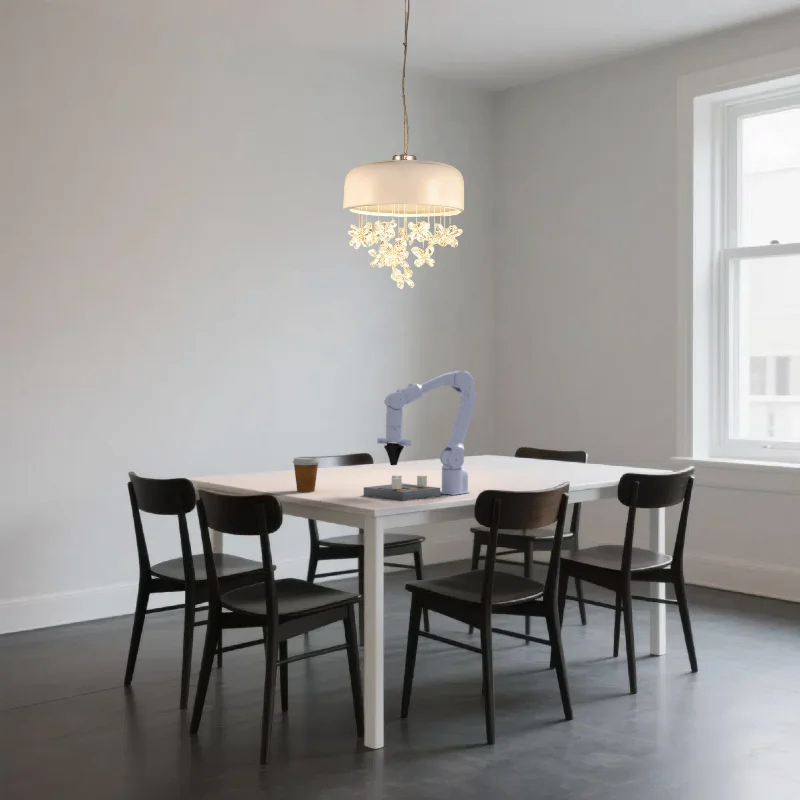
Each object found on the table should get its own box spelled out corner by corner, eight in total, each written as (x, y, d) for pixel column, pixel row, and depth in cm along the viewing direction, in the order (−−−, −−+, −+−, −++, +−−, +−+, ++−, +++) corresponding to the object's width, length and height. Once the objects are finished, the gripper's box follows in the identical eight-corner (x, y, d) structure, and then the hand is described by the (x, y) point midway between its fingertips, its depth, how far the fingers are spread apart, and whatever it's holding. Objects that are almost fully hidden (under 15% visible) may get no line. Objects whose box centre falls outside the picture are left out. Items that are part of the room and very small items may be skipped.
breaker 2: (421, 485, 368) (421, 475, 368) (426, 485, 367) (426, 475, 367) (417, 485, 367) (417, 475, 366) (422, 486, 365) (422, 476, 365)
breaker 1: (396, 487, 359) (396, 477, 359) (401, 488, 357) (401, 478, 357) (391, 488, 357) (391, 478, 357) (396, 489, 356) (396, 478, 355)
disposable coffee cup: (311, 493, 369) (312, 459, 369) (287, 492, 372) (288, 458, 372) (323, 490, 378) (323, 457, 377) (300, 489, 381) (300, 456, 381)
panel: (400, 491, 378) (400, 482, 378) (440, 496, 365) (440, 487, 365) (363, 495, 364) (363, 486, 364) (403, 500, 351) (403, 491, 351)
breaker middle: (396, 485, 368) (396, 475, 368) (401, 485, 366) (401, 475, 366) (391, 485, 366) (391, 475, 366) (396, 486, 364) (396, 476, 364)
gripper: (371, 425, 368) (371, 464, 369) (401, 428, 358) (401, 467, 359) (385, 425, 373) (384, 463, 374) (415, 427, 364) (414, 466, 364)
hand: (393, 465), depth 367 cm, fingers closed
